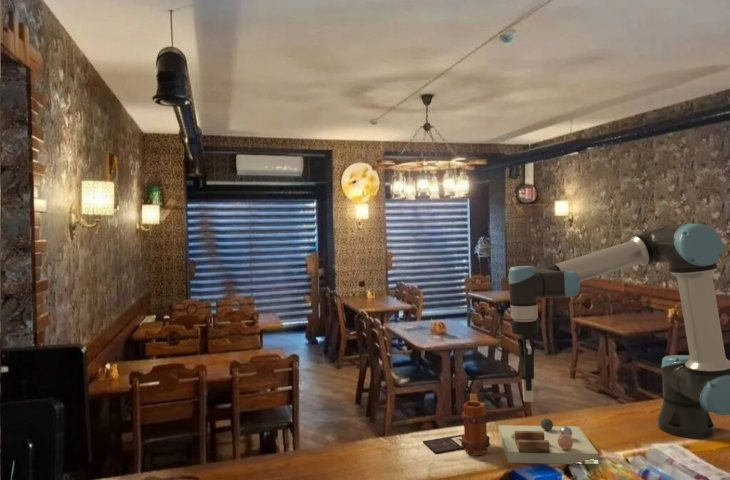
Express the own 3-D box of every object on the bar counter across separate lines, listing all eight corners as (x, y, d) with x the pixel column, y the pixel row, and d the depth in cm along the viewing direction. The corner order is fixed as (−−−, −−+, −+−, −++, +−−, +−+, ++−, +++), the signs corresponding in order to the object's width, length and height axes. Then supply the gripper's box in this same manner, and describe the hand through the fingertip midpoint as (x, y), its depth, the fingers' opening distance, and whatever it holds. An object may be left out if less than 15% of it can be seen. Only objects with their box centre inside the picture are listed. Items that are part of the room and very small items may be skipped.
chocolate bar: (422, 441, 157) (474, 432, 163) (422, 444, 157) (474, 435, 163) (435, 452, 149) (489, 442, 154) (435, 455, 149) (489, 446, 154)
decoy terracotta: (571, 446, 143) (570, 432, 143) (574, 452, 139) (574, 437, 139) (556, 446, 144) (555, 432, 144) (559, 452, 140) (559, 437, 140)
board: (578, 436, 158) (578, 426, 158) (599, 464, 138) (598, 453, 138) (498, 434, 161) (498, 425, 161) (507, 462, 141) (507, 451, 141)
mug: (491, 459, 143) (489, 406, 143) (461, 458, 145) (459, 405, 145) (489, 439, 158) (487, 391, 158) (462, 438, 159) (460, 390, 159)
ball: (570, 436, 150) (570, 424, 150) (573, 441, 147) (573, 429, 147) (558, 436, 151) (558, 424, 151) (561, 441, 147) (560, 428, 147)
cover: (543, 441, 147) (543, 431, 147) (549, 453, 139) (549, 442, 139) (514, 441, 148) (514, 430, 148) (519, 452, 140) (518, 441, 140)
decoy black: (551, 428, 157) (551, 416, 157) (554, 432, 154) (553, 420, 154) (539, 427, 158) (539, 416, 158) (542, 432, 154) (541, 420, 154)
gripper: (507, 316, 155) (511, 393, 155) (514, 323, 142) (518, 408, 142) (533, 315, 154) (537, 393, 154) (542, 322, 141) (546, 408, 141)
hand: (528, 400), depth 148 cm, fingers closed
